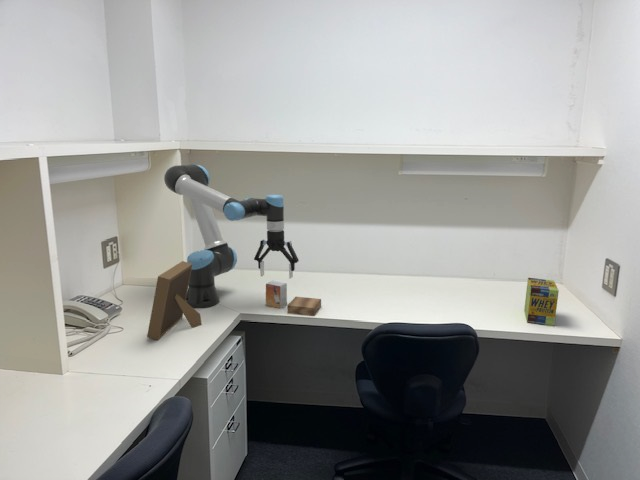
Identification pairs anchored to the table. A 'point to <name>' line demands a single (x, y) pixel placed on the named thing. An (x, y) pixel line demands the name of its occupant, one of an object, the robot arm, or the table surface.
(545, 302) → the protein box
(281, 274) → the table surface
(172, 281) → the photo frame
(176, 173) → the robot arm
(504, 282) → the table surface
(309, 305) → the plinth
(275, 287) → the small box
